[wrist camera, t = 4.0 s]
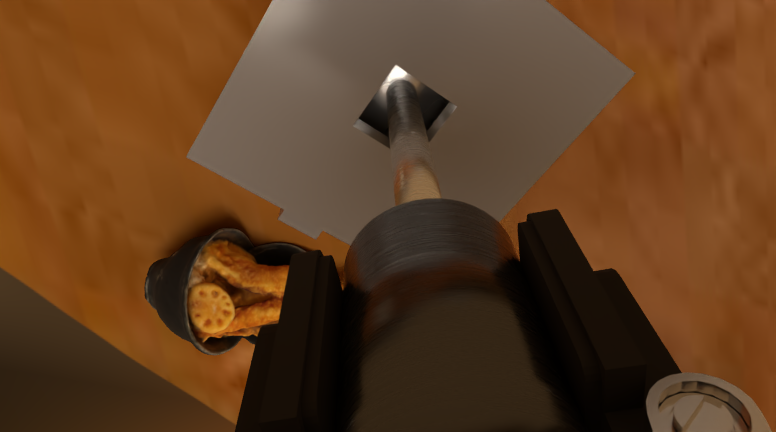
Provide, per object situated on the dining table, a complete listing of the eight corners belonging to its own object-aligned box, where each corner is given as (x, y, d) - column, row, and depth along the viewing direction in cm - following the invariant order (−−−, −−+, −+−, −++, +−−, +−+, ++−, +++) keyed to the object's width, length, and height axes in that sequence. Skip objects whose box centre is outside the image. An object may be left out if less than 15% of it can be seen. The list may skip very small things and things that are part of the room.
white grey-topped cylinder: (387, 161, 39) (400, 330, 24) (242, 73, 35) (157, 209, 21) (518, -12, 33) (635, 73, 19) (361, -138, 30) (357, -153, 15)
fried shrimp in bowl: (106, 236, 36) (367, 254, 30) (211, 210, 46) (420, 221, 41) (119, 370, 38) (369, 411, 32) (217, 316, 48) (419, 340, 42)
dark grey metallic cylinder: (421, 206, 24) (499, 670, 10) (267, 115, 22) (83, 554, 8) (538, 63, 21) (889, 443, 7) (373, -61, 19) (397, 130, 5)
